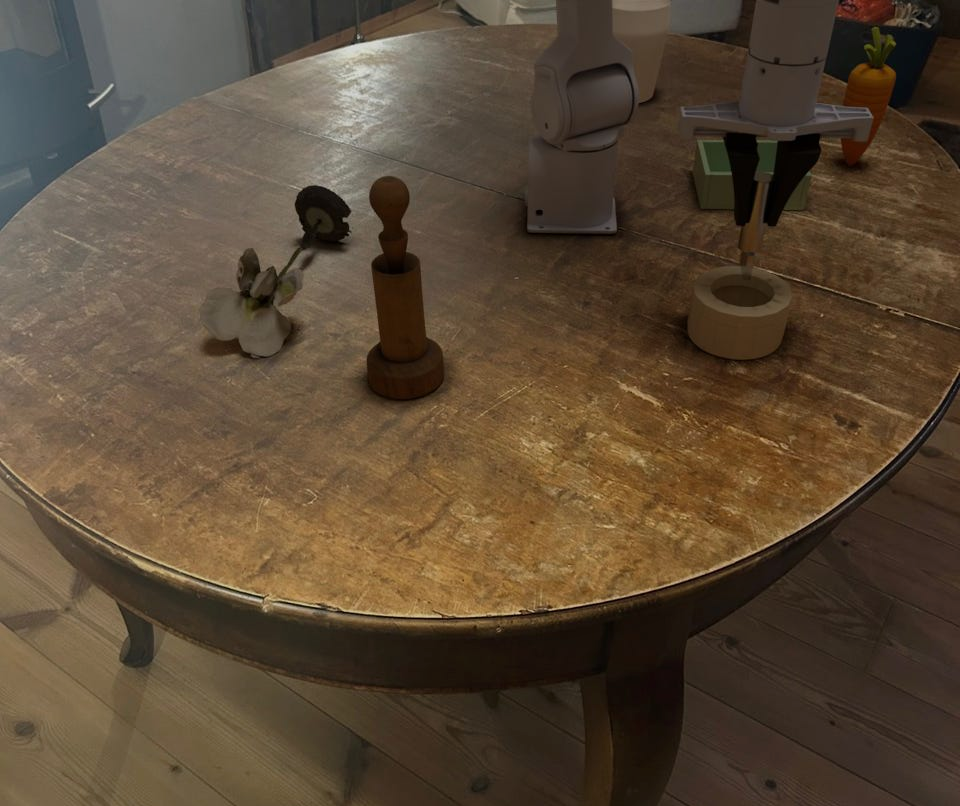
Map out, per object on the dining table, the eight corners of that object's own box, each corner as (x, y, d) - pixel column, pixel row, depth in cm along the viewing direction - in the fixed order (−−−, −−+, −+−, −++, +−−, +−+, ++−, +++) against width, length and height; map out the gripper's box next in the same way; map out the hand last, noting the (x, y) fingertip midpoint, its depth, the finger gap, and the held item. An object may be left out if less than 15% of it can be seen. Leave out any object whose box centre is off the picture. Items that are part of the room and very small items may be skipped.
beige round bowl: (691, 358, 81) (698, 315, 78) (683, 307, 88) (689, 264, 85) (789, 361, 81) (799, 317, 78) (773, 309, 87) (783, 266, 84)
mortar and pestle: (405, 346, 84) (387, 153, 72) (459, 372, 81) (450, 174, 69) (353, 381, 80) (324, 183, 68) (408, 410, 77) (388, 208, 65)
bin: (700, 209, 102) (705, 174, 99) (692, 172, 109) (697, 139, 106) (803, 210, 101) (811, 175, 99) (789, 173, 108) (796, 140, 105)
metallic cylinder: (735, 280, 81) (753, 184, 75) (731, 264, 83) (748, 169, 77) (758, 280, 81) (778, 184, 75) (753, 264, 83) (773, 169, 77)
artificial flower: (372, 254, 99) (382, 177, 91) (267, 394, 85) (268, 318, 77) (297, 222, 99) (301, 142, 91) (181, 356, 86) (173, 276, 78)
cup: (585, 88, 129) (590, -5, 121) (644, 80, 131) (653, -13, 123) (611, 111, 123) (618, 14, 115) (672, 102, 125) (684, 6, 117)
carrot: (874, 176, 107) (911, 39, 97) (829, 173, 108) (862, 37, 98) (869, 158, 111) (905, 24, 101) (826, 155, 112) (857, 22, 101)
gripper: (693, 71, 67) (671, 242, 76) (900, 72, 66) (852, 245, 75) (685, 39, 72) (665, 202, 81) (876, 39, 71) (834, 205, 80)
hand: (754, 220), depth 78 cm, fingers closed on metallic cylinder, 2 cm apart
